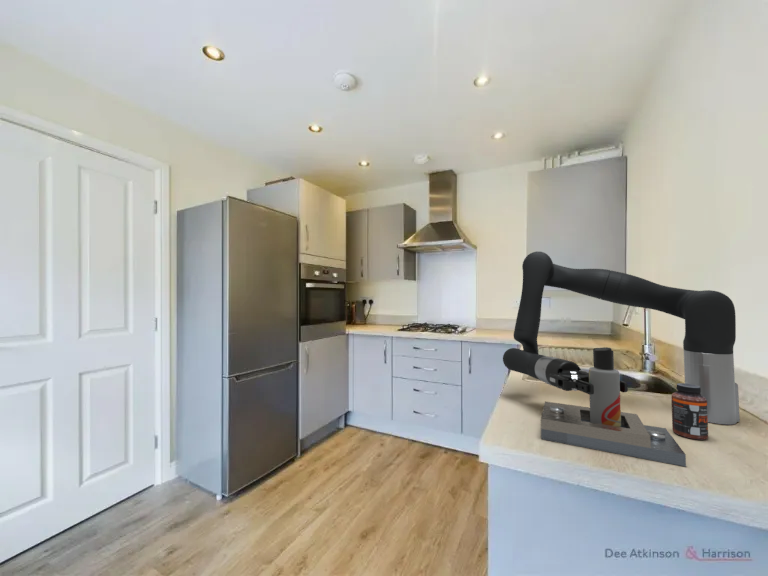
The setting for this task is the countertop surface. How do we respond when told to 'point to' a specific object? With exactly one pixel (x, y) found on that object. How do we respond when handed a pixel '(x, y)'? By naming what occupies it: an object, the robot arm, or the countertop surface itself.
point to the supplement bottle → (689, 412)
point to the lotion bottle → (605, 389)
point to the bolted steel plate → (609, 434)
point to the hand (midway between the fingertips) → (609, 388)
